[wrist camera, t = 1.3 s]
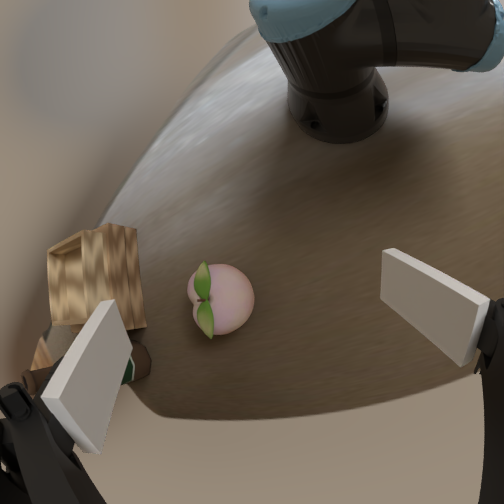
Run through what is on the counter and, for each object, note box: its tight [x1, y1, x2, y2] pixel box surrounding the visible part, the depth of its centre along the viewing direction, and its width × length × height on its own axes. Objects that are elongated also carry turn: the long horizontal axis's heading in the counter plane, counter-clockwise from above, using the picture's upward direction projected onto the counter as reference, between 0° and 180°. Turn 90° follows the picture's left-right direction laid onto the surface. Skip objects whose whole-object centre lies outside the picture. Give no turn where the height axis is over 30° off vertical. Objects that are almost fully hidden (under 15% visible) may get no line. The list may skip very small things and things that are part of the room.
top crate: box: [47, 230, 111, 326], centre depth 42 cm, size 15×15×5 cm
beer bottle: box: [21, 340, 151, 395], centre depth 36 cm, size 8×8×24 cm
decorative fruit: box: [187, 261, 254, 339], centre depth 36 cm, size 9×8×10 cm
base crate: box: [71, 223, 147, 333], centre depth 48 cm, size 18×16×7 cm
